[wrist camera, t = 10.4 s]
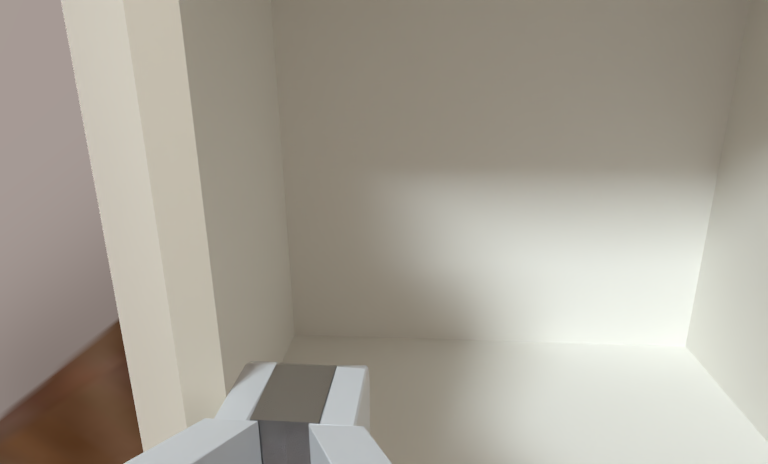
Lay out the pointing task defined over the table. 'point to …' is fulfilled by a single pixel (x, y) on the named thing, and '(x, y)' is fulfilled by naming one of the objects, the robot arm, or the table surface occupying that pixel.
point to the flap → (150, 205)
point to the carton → (497, 217)
